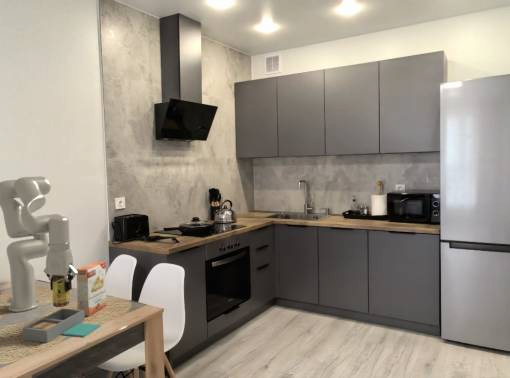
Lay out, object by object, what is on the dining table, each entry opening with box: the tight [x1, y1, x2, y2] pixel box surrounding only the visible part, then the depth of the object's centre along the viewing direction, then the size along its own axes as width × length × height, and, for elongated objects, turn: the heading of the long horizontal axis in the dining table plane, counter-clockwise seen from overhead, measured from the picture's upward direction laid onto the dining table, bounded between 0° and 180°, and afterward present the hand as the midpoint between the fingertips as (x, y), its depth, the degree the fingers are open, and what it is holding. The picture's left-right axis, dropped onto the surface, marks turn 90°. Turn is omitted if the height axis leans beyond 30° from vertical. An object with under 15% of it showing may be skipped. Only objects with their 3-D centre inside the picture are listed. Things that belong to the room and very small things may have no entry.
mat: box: [61, 322, 101, 338], centre depth 157 cm, size 10×10×1 cm
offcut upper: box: [32, 322, 56, 330], centre depth 153 cm, size 7×5×2 cm
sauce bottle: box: [52, 275, 70, 308], centre depth 162 cm, size 6×6×20 cm
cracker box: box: [76, 261, 108, 317], centre depth 178 cm, size 14×6×21 cm, turn 168°
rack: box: [22, 307, 86, 343], centre depth 158 cm, size 11×21×4 cm, turn 166°
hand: (61, 289), depth 162 cm, fingers closed on sauce bottle, 6 cm apart
